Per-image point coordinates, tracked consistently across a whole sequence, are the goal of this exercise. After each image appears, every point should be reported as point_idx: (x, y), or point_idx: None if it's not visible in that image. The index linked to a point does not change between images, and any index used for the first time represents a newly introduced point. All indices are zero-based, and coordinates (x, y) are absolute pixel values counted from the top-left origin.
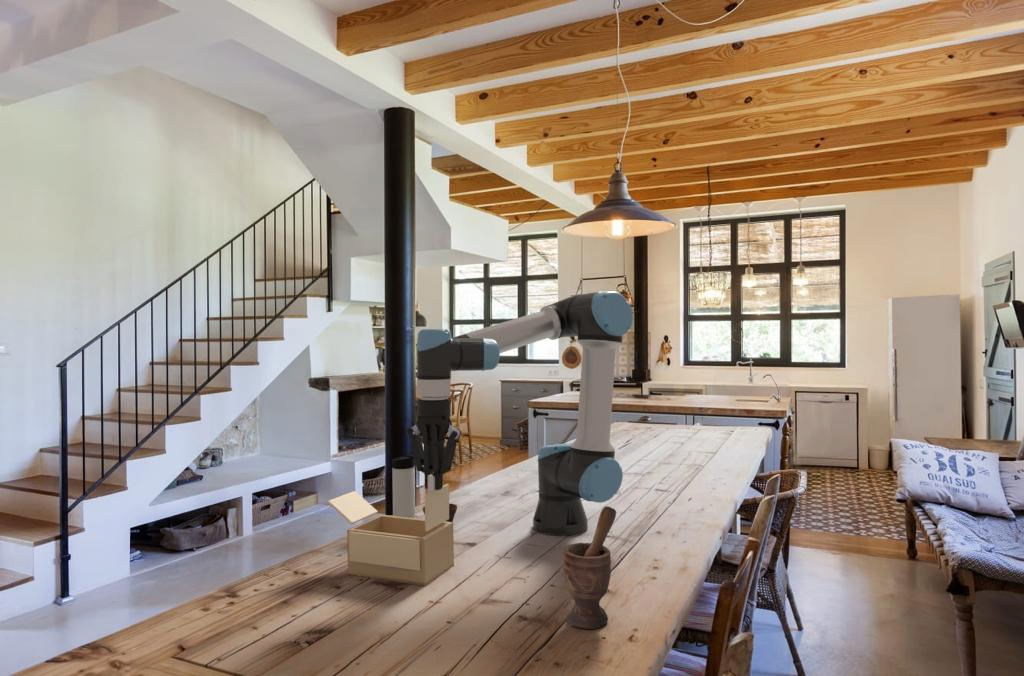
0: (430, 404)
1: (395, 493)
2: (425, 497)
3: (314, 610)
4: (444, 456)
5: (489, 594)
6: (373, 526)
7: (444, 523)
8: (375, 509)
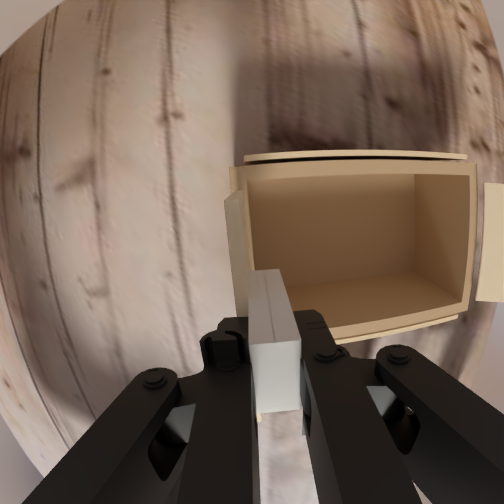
0: None
1: None
2: (235, 198)
3: (349, 14)
4: (101, 477)
5: (98, 199)
6: (456, 260)
7: None
8: (483, 300)
